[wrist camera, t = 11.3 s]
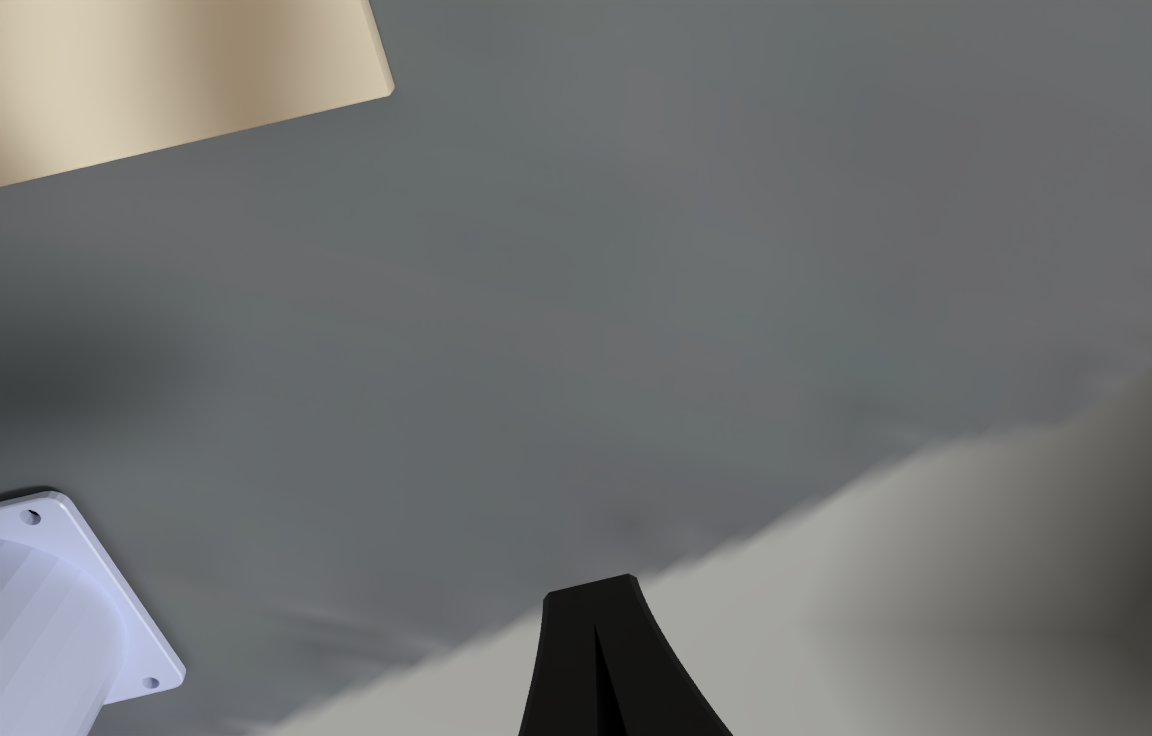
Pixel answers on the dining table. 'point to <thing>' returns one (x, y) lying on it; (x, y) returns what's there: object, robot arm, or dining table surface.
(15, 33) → the board
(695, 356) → the dining table surface
